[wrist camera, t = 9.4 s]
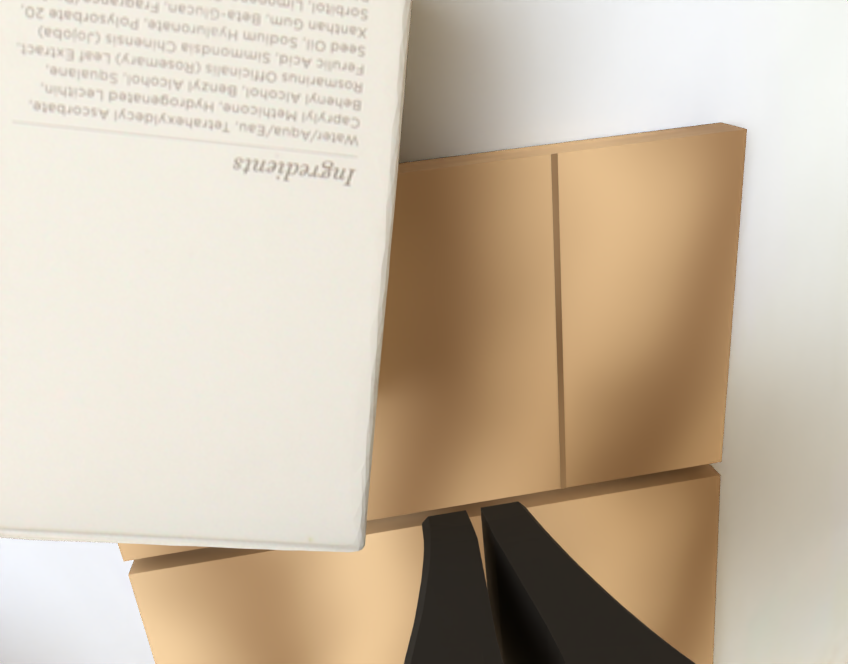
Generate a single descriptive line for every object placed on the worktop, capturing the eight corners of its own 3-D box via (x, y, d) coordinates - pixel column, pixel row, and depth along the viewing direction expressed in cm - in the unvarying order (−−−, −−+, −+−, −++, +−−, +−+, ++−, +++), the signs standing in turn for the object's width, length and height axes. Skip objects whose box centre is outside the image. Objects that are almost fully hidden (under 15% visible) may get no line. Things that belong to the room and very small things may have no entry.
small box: (-33, -303, 9) (-44, 549, 10) (439, -222, 9) (366, 568, 11) (150, -50, 16) (129, 405, 18) (397, -16, 17) (358, 421, 18)
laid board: (135, 534, 22) (124, 564, 21) (30, 209, 18) (8, 223, 17) (700, 442, 24) (721, 465, 22) (721, 122, 20) (747, 129, 18)
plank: (207, 784, 26) (201, 817, 25) (138, 549, 22) (128, 575, 21) (694, 690, 27) (711, 717, 26) (701, 456, 24) (720, 475, 23)
